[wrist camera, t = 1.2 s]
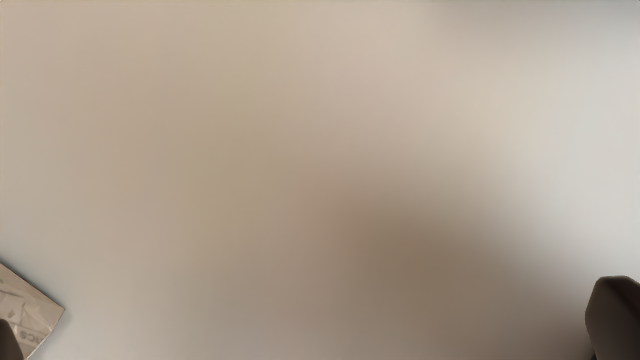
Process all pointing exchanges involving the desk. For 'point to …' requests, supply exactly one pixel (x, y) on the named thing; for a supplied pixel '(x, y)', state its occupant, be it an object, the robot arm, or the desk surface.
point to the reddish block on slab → (26, 311)
